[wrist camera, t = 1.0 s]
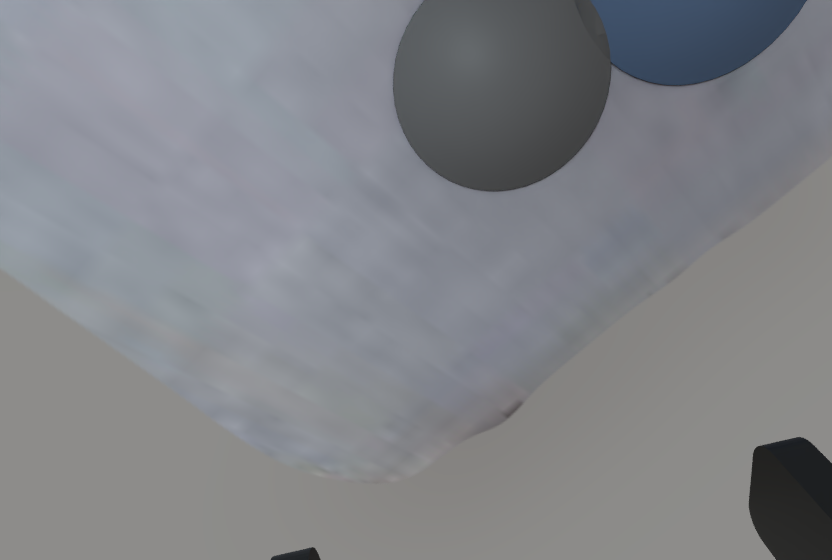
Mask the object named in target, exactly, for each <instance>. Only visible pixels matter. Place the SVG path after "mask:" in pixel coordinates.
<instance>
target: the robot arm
mask: <svg viewBox="0 0 832 560" xmlns="http://www.w3.org/2000/svg"><path fill="white" fill-rule="evenodd" d="M749 510H750V515H751V518H752V521H753V524H754V526H755V529H756V531H757V533H758V534H759V536H760V538H761V539H762V541H763V542H764V544H765V545H766V546H767V548H768V549H769V550H770V552H771V553H772V555H773V556H774V557H775V559H776V560H832V463H831V462H830V461H829V460H828V459H827V458H826V457H825V456H824V455H823V454H822V453H821V452H820V451H819V450H818V449H817V448H816V447H815V446H814V445H813V444H812V443H811V442H809V441H808V440H806V439H804V438H801V437H797V438H792V439H788V440H784V441H779V442H775V443H771V444H767V445H762V446H758V447H756V448H755V450H754V453H753V462H752V475H751V485H750V496H749ZM271 560H320V558H319V555H318V553H317V551H316V549H315V548H313V547H312V548H307V549H303V550H299V551H295V552H290V553H286V554H281V555H277V556H274V557H272V558H271Z"/></svg>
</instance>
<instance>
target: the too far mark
mask: <svg viewBox="0 0 832 560" xmlns="http://www.w3.org/2000/svg"><path fill="white" fill-rule="evenodd" d="M575 1H576V2H575ZM578 1H579V2H581V4H580V3H577V2H578ZM578 1H577V0H425V1H424V2H423V3H422V4H421V6H420V7H419V8H418V10H417V11H416V12H415V14H414V15H413V17H412V19H411V21H410V22H409V24H408V26H407V28H406V30H405V32H404V35H403V37H402V40H401V42H400V45H399V49H398V52H397V56H396V60H395V67H394V76H393V92H394V101H395V107H396V111H397V115H398V119H399V122H400V124H401V127H402V129H403V132H404V134H405V136H406V138H407V140H408V141H409V143H410V145H411V146H412V148H413V149H414V151H415V152H416V153H417V155H418V156H419V157H420V158H421V159H422V160H423V161H424V162H425V163H426V164H427V165H428V166H429V167H430V168H431V169H433V170H434V171H435V172H436V173H438V174H439V175H441V176H443V177H444V178H446V179H448V180H449V181H452V182H454V183H457V184H459V185H461V186H465V187H469V188H472V189H478V190H486V191H501V190H509V189H515V188H519V187H523V186H526V185H529V184H532V183H534V182H537V181H539V180H541V179H543V178H545V177H547V176H548V175H550V174H552V173H553V172H555V171H556V170H558V169H559V168H560V167H562V166H563V165H564V164H565V163H566V162H568V161H569V160H570V159H571V158H572V157H573V156H574V155H575V154H576V153H577V152H578V151H579V150H580V148H581V147H582V146H583V145H584V143H585V142H586V141H587V139H588V138H589V136H590V135H591V133H592V132H593V130H594V128H595V126H596V124H597V123H598V121H599V118H600V116H601V113H602V111H603V109H604V105H605V102H606V99H607V95H608V90H609V84H610V75H611V59H610V60H609V58H610V55H609V54H610V48H608V47H609V43H608V38H607V34H606V31H605V28H604V25H603V22H602V20H601V18H600V16H599V14H598V12H597V10H596V8H595V7H594V5H593V4H592V3H591V1H589V0H587V1H586V0H578ZM583 1H584V2H583ZM587 2H589V3H590V4H591V5H590V4H589V3H587ZM585 3H586V4H585ZM576 4H579V5H577V6H578V7H577V6H576ZM582 4H583V5H582ZM585 5H586V6H585ZM588 5H589V6H588ZM579 6H581V7H582V8H581V7H579ZM587 6H588V7H587ZM590 7H591V8H590ZM577 8H578V10H577ZM580 8H581V9H580ZM589 8H590V9H589ZM584 9H587V10H586V11H584ZM579 10H581V12H579V13H578V11H579ZM582 11H583V12H582ZM590 11H591V12H590ZM594 11H595V12H594ZM592 12H593V13H592ZM582 13H583V14H584V15H582ZM590 13H591V14H590ZM588 14H590V15H588ZM594 14H595V15H594ZM586 15H588V16H587V18H588V19H587V18H586ZM581 16H582V17H583V18H581ZM590 16H591V18H590ZM595 16H596V18H595ZM585 18H586V20H584V19H585ZM593 18H594V19H593ZM598 19H599V20H598ZM584 21H585V24H583V23H584ZM582 22H583V23H582ZM593 22H594V24H593ZM587 23H588V24H589V25H588V24H587ZM594 25H595V26H594ZM585 26H587V27H585ZM590 26H591V27H590ZM586 28H587V29H586ZM591 28H593V29H592V30H591ZM591 31H592V32H591ZM594 31H595V32H594ZM588 32H589V33H590V34H589V33H588ZM593 32H594V33H593ZM602 33H603V34H602ZM600 34H602V35H601V36H600ZM592 35H593V36H592ZM595 35H596V36H595ZM603 35H604V36H603ZM605 35H606V37H605ZM591 36H592V37H594V38H592V37H591ZM601 37H603V39H602V38H601ZM604 37H605V38H604ZM600 39H601V40H600ZM603 41H604V43H603ZM599 44H600V45H599ZM601 44H602V45H601ZM607 45H608V47H607ZM599 46H600V47H601V48H600V47H599ZM602 46H603V47H602ZM599 49H600V50H599ZM606 50H607V51H606ZM608 50H609V51H608ZM602 51H604V52H602ZM605 51H606V52H605Z"/></svg>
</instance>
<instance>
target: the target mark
mask: <svg viewBox="0 0 832 560" xmlns="http://www.w3.org/2000/svg"><path fill="white" fill-rule="evenodd" d="M577 1H578V0H577ZM586 1H587V0H586ZM589 1H591V3H592V4H593V5H594V7H595V8H596V10H597V12H598V14H599V16H600V18H601V20H602V22H603V25H604V28H605V31H606V34H607V38H608V43H609V47H608V45H607V47H608V48H610V54H609V55H610V58H609V60H610V59H611V63H613V64H614V65H615V66H617V67H618V68H619V69H621V70H622V71H624V72H626V73H628V74H630V75H632V76H634V77H636V78H639V79H642V80H645V81H648V82H652V83H658V84H664V85H686V84H694V83H699V82H703V81H707V80H711V79H714V78H717V77H719V76H722V75H724V74H727V73H729V72H731V71H733V70H735V69H736V68H738V67H740V66H742V65H744V64H745V63H747V62H748V61H750V60H751V59H753V58H754V57H756V56H757V55H758V54H760V53H761V52H762V51H763V50H764V49H766V48H767V47H768V46H769V45H770V44H771V43H773V42H774V41H775V40H776V38H777V37H778V36H779V35H780V34H781V33H782V32H783V31H784V30H785V29H786V28H787V27H788V25H789V24H790V23H791V22H792V20H793V19H794V18H795V17H796V15H797V14H798V13H799V11H800V10H801V8H802V7H803V5H804V4H805V2H806V1H807V0H589ZM575 2H576V1H575ZM583 2H584V1H583ZM577 3H580V4H581V2H579V1H578V2H577ZM587 3H589V2H587ZM585 4H586V3H585ZM589 4H590V3H589ZM577 5H579V4H576V6H577ZM582 5H583V4H582ZM590 5H591V4H590ZM585 6H586V5H585ZM588 6H589V5H588ZM588 6H587V7H588ZM577 7H578V6H577ZM579 7H581V6H579ZM581 8H582V7H581ZM581 8H580V9H581ZM590 8H591V7H590ZM590 8H589V9H590ZM577 10H578V8H577ZM586 10H587V9H584V11H586ZM579 12H581V10H579V11H578V13H579ZM582 12H583V11H582ZM590 12H591V11H590ZM594 12H595V11H594ZM592 13H593V12H592ZM590 14H591V13H590ZM590 14H588V15H590ZM582 15H584V14H583V13H582ZM588 15H586V18H587V16H588ZM594 15H595V14H594ZM581 18H583V17H582V16H581ZM586 18H585V19H584V20H586ZM590 18H591V16H590ZM595 18H596V16H595ZM587 19H588V18H587ZM593 19H594V18H593ZM598 20H599V19H598ZM582 23H583V22H582ZM583 24H585V21H584V23H583ZM587 24H588V23H587ZM593 24H594V22H593ZM588 25H589V24H588ZM594 26H595V25H594ZM585 27H587V26H585ZM590 27H591V26H590ZM586 29H587V28H586ZM592 29H593V28H591V30H592ZM591 32H592V31H591ZM594 32H595V31H594ZM594 32H593V33H594ZM588 33H589V32H588ZM589 34H590V33H589ZM602 34H603V33H602ZM602 34H600V36H601V35H602ZM592 36H593V35H592ZM592 36H591V37H592ZM595 36H596V35H595ZM603 36H604V35H603ZM605 37H606V35H605ZM605 37H604V38H605ZM592 38H594V37H592ZM601 38H602V39H603V37H601ZM600 40H601V39H600ZM603 43H604V41H603ZM599 45H600V44H599ZM601 45H602V44H601ZM599 47H600V46H599ZM602 47H603V46H602ZM600 48H601V47H600ZM599 50H600V49H599ZM606 51H607V50H606ZM606 51H605V52H606ZM608 51H609V50H608ZM602 52H604V51H602Z"/></svg>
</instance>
